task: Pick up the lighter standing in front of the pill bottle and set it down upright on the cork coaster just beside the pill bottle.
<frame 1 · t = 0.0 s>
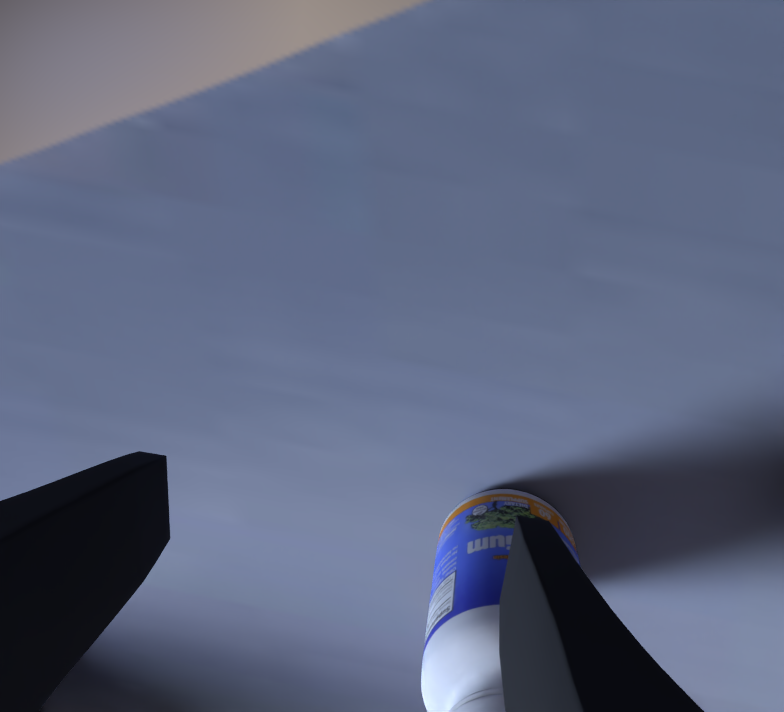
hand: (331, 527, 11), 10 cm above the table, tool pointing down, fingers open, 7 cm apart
pill bottle: (503, 539, 22), on the table
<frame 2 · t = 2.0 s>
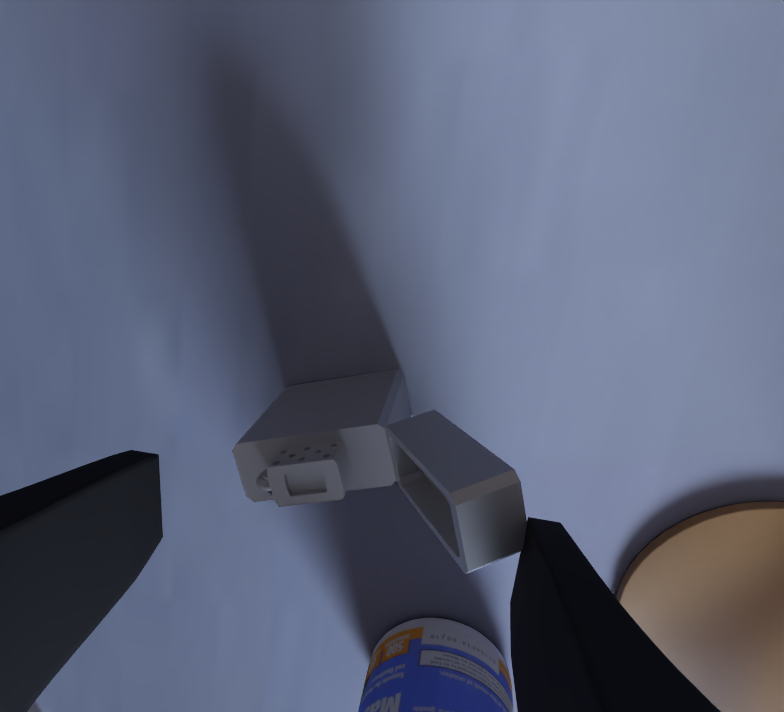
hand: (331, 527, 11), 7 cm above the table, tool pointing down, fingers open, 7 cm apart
lighter: (391, 393, 18), on the table, touching gripper
pill bottle: (440, 665, 21), on the table
coaster: (755, 618, 18), on the table
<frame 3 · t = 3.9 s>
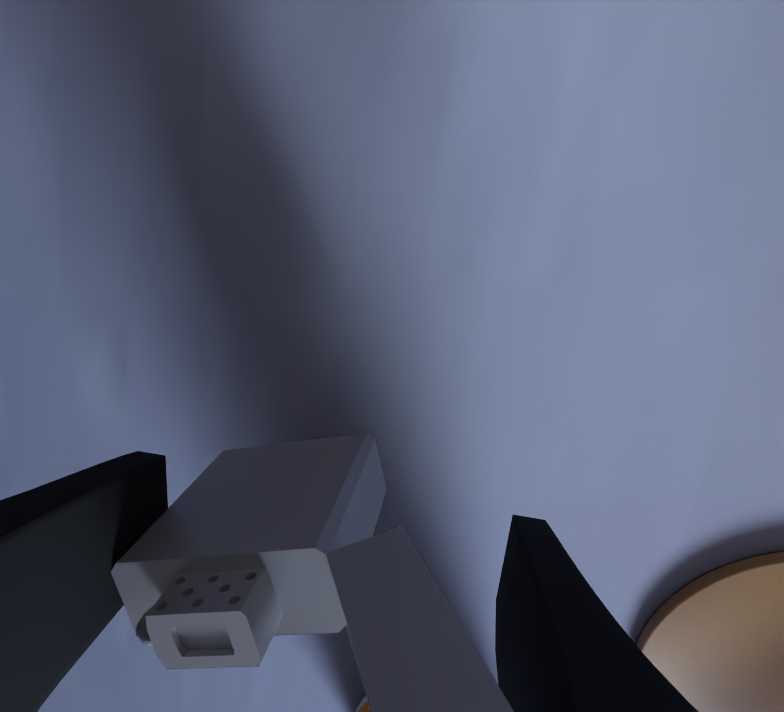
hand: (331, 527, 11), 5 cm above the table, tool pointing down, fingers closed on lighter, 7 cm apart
lighter: (359, 463, 13), point 2 cm above the table, touching gripper
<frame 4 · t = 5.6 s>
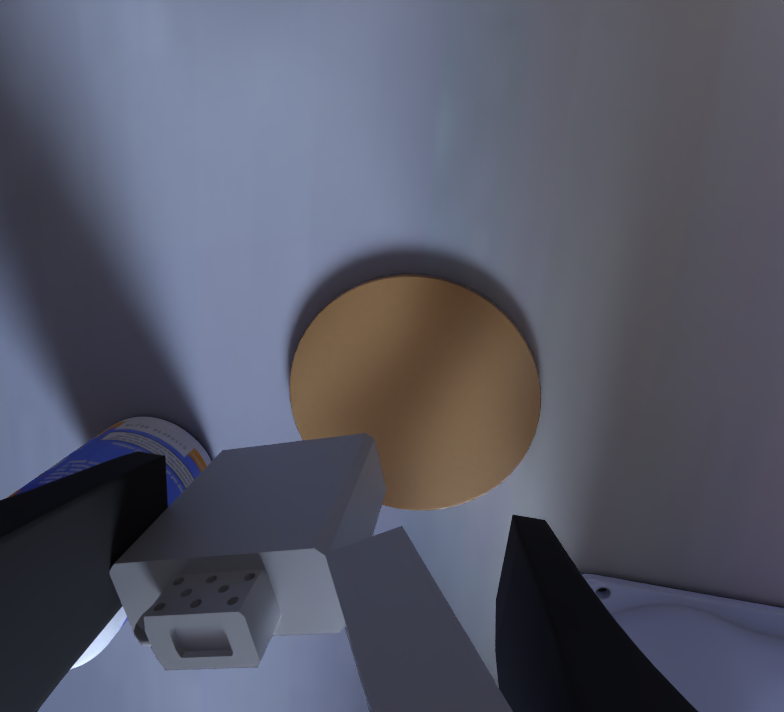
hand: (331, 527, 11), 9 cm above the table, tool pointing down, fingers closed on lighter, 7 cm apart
lighter: (359, 462, 13), point 6 cm above the table, touching gripper
pill bottle: (163, 470, 22), on the table
coaster: (412, 397, 19), on the table
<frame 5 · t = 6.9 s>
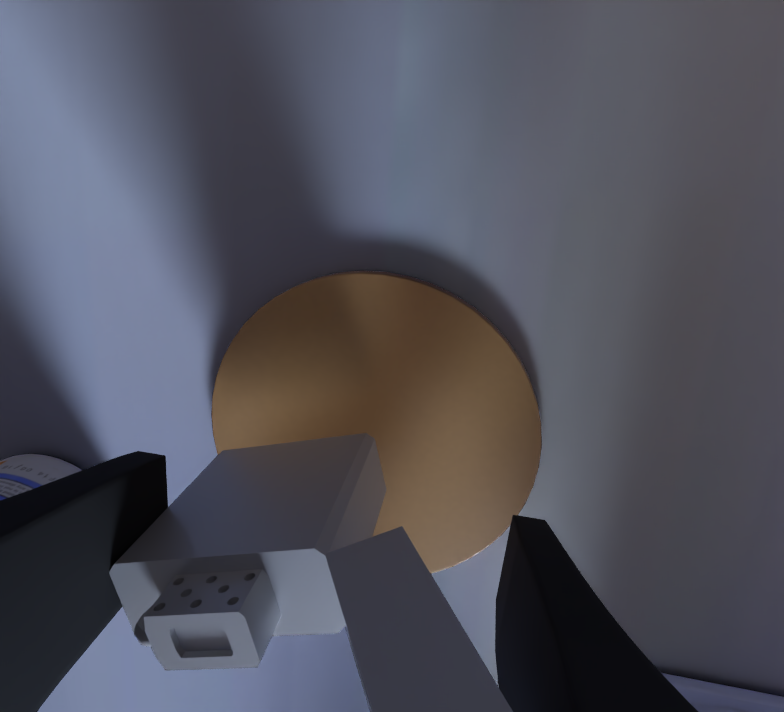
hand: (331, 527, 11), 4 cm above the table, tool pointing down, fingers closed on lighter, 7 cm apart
lighter: (359, 462, 13), point 2 cm above the table, touching gripper
pill bottle: (64, 519, 18), on the table
coaster: (371, 433, 15), on the table
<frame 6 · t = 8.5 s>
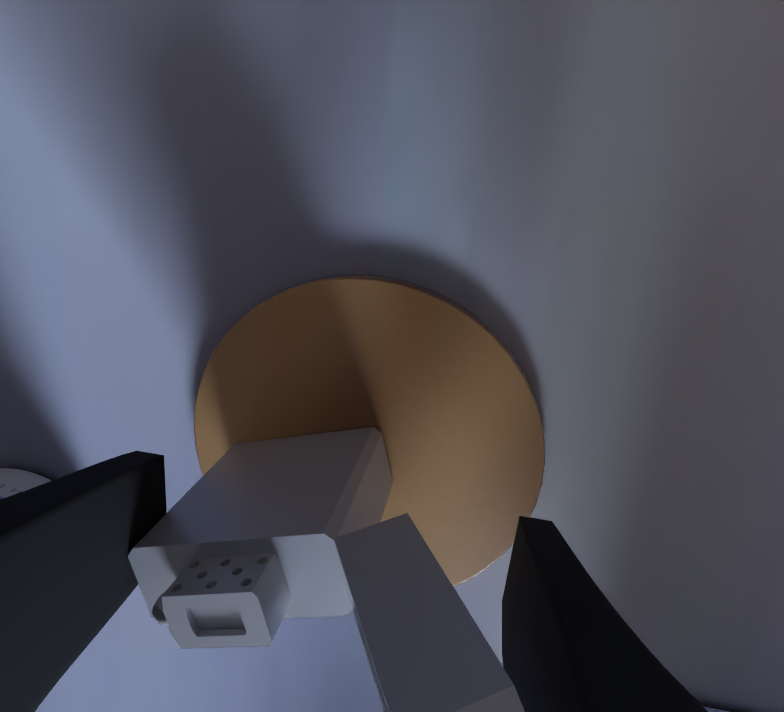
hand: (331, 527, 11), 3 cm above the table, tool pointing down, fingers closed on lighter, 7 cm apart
lighter: (366, 456, 14), resting on coaster, touching gripper
pill bottle: (41, 536, 17), on the table
coaster: (364, 448, 14), on the table
when the fingers open (4 cm above the table, at t = 8.6 s): lighter stays where it is, resting on coaster.
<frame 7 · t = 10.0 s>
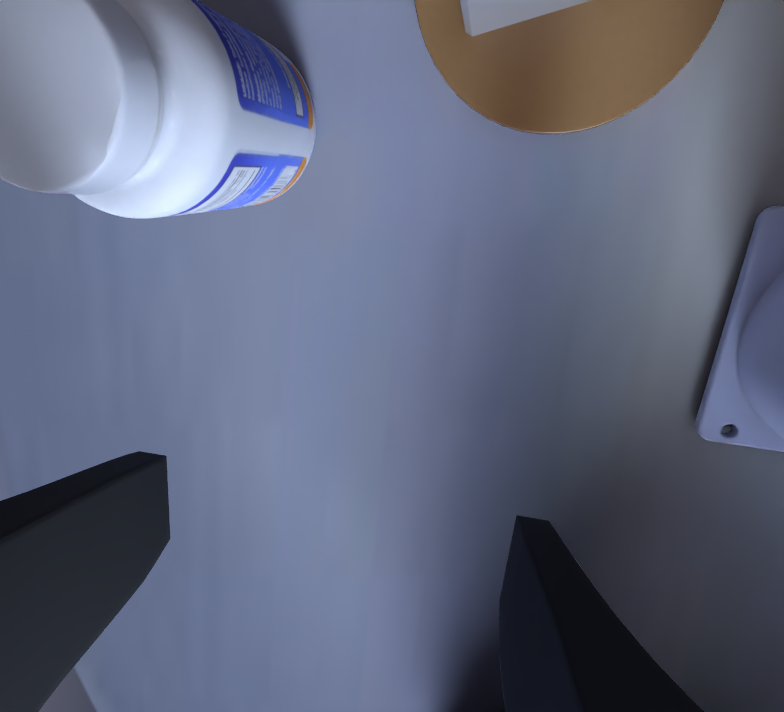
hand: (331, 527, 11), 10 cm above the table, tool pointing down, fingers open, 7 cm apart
pill bottle: (249, 126, 19), on the table
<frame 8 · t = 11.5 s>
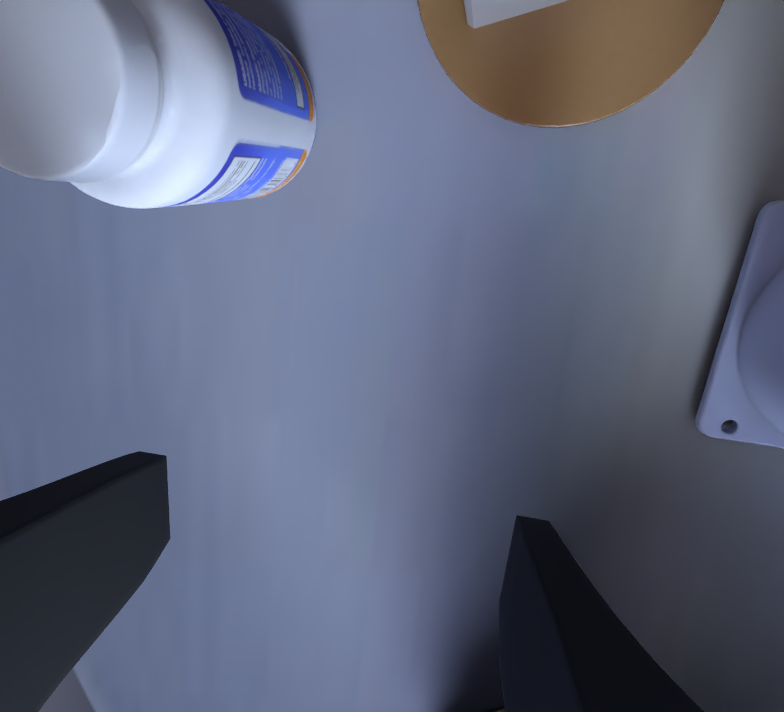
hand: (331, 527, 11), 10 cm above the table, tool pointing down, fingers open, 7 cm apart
pill bottle: (249, 118, 19), on the table
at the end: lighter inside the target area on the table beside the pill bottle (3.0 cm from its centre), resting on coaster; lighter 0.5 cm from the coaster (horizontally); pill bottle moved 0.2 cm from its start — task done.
